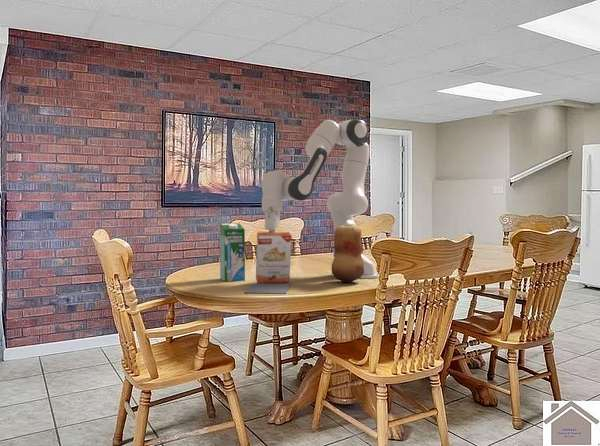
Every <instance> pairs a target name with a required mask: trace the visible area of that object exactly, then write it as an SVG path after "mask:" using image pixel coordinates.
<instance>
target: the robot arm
mask: <svg viewBox="0 0 600 446" xmlns="http://www.w3.org/2000/svg"><path fill="white" fill-rule="evenodd" d="M368 136H369V128H368V125H367V123H366V122H365V121H364V120H362V119H359V118H353V119H348V120H344V121H341V122H340V121H339V122H336V121H335V120H331V119H325V120H324V121H322V123H320V124H319V125H318V126H317V127H316V129H315V130H314V131H313V132H312V134H311V135H310V137H309V138H308V140H307V141H306V144H305V152H306V154H307V156H308V157H309V160H308V162H307V163H306V165H305V168H304V169H303V171H302V172H301V173H300V174H299V175H297V176H294V177H293V176H291V175H288V174H286V173H285V172H284V171H282V169H281V168H273V169H268V170H265V171H264V172H263V174H262V182H261V185H262V186H261V191H262V198H261V211H262V212H264V215H265V216H264V229H265V230H266V231H267V230H268V232H276V229H277V228H279V227H280V221H281V220H280V219H281V212H283V211H284V210H283V209H284V207H283V205H284V204H283V199H285V200H293V201H300V202H301V201H306V200H307V199H309V198H310V197H311V196H312V193H313V190H314V185H315V182H316V180H317V178H318V176H319V175H320V173H321V170H322V169H323V166H324V165H325V164H326V161H327V158H328V156H329V154H330V153H331V151H332V150H333V148H334V146H341V147H343V146H345V148H346V154H345V157H344V162H343V166H342V170H341V173H340V174H341V175H340V178H341V181H342V185H343V187H342V188H343V189H342V190H343V191H339V192H338V191H337V192H335V193H333V194H330V195H329V196H328V198H327V199H326V208H327V210H328V211H329V213H330V215H331V219H332V224H333V228H334V229H333V230H334V231H335V230H336V228H337V227H338V226H340V225H344V224H355V225H357V224H356V223H355V219H354V217H357V216H359V215H362V214H365V212H367V210H368V207H369V200H368V198H367V196H366V194H365V179H366V174H367V170H368V166H369V160H370V145H369V143H367V141H368V138H369V137H368ZM364 251H365V248H364V247H363V246H362V251H361V256H362V259H363V263H364V274H363V275H362V276H361V277H360V278H359V279H376V278H377V279H378V278H379V277H378V275H377V272H378V271H376V267H375V263H374V262H373V261H372V259H370V258H369V257H368V256H366V255H365V254H363V252H364ZM334 257H335V245H333V258H334ZM330 276H332V277H334V275H333V274H332V273H331V274H330Z"/></svg>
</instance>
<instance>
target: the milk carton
mask: <svg viewBox="0 0 600 446" xmlns="http://www.w3.org/2000/svg"><path fill="white" fill-rule="evenodd" d="M245 233H246V231H245V228H244V227H243V226H242V224H240V223H239V222H237V223H236V222H235V223H226V222H225V223H219V260H220V261H219V262H220V263H219V264H220V265H219V267H220V268H219V272H220V273H219V274H220V275H219V277H220V280H221V281H223V282H240V281H242V280H243V281H246V248H245V247H246V246H245V245H246V243H245V242H246V241H245V240H246V238H245V235H246V234H245ZM243 281H242V282H243Z"/></svg>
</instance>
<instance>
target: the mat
mask: <svg viewBox="0 0 600 446" xmlns="http://www.w3.org/2000/svg"><path fill="white" fill-rule="evenodd" d="M290 286H291V283H290V282H274V283H257V282H253V283H251V284H250V285H249V287H248V288H246V289H245V291H243V294H258V295H260V294H261V295H266V294H267V295H269V294H271V295H272V294H273V295H278V294H279V295H286V294H287V293H288V291H289V288H290Z"/></svg>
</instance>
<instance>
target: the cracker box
mask: <svg viewBox="0 0 600 446" xmlns="http://www.w3.org/2000/svg"><path fill="white" fill-rule="evenodd" d="M292 237H293V236H292V234H291V233H290V232H284V231H283V232H282V231H281V232H280V231H279V232H276V231H275V232H269V231H267V232H262V231H261V232H257V233H256V256H255V259H256V261H255V280H256V283H290V277H291V276H290V275H291V258H292V257H291V253H292Z"/></svg>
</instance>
